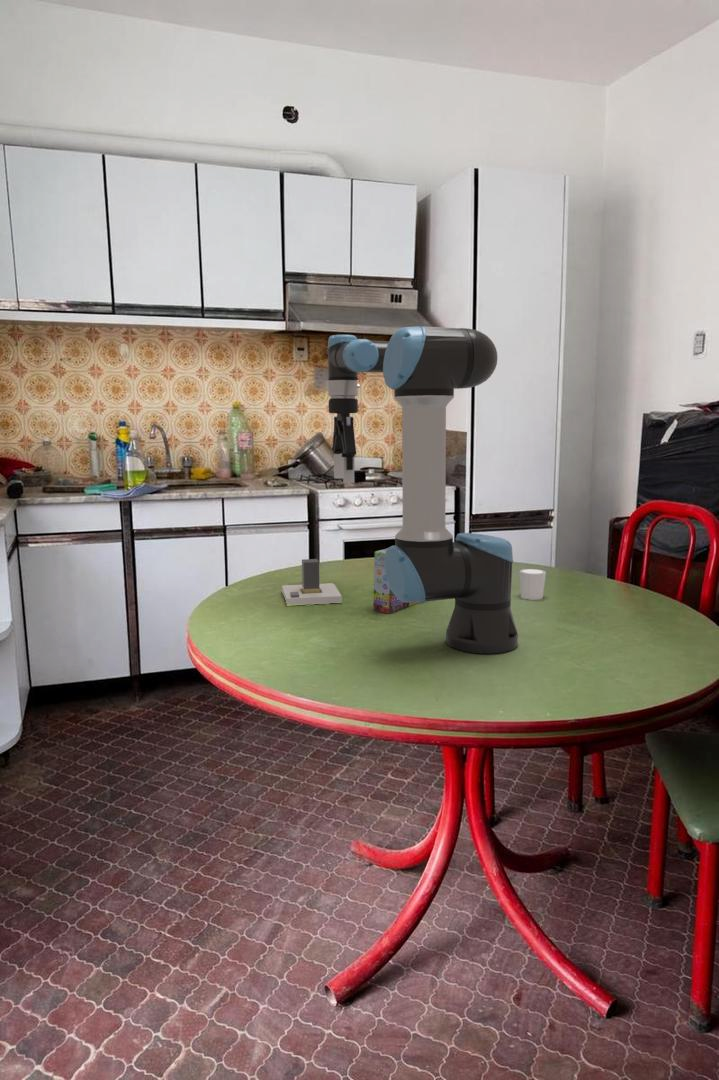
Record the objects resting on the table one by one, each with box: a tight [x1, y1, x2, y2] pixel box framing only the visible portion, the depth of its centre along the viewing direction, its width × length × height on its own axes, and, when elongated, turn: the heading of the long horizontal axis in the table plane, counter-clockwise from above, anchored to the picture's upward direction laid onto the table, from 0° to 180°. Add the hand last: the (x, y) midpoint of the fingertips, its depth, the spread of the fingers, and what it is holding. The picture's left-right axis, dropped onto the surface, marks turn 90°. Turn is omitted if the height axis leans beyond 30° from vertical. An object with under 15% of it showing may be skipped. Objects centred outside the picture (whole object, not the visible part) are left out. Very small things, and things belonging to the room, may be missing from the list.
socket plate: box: [281, 582, 343, 605], centre depth 198 cm, size 14×14×3 cm
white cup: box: [519, 568, 547, 601], centre depth 198 cm, size 7×7×7 cm
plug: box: [301, 558, 320, 594], centre depth 197 cm, size 4×4×10 cm
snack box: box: [372, 547, 420, 615], centre depth 191 cm, size 21×6×15 cm, turn 143°
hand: (343, 480), depth 197 cm, fingers open, 13 cm apart
